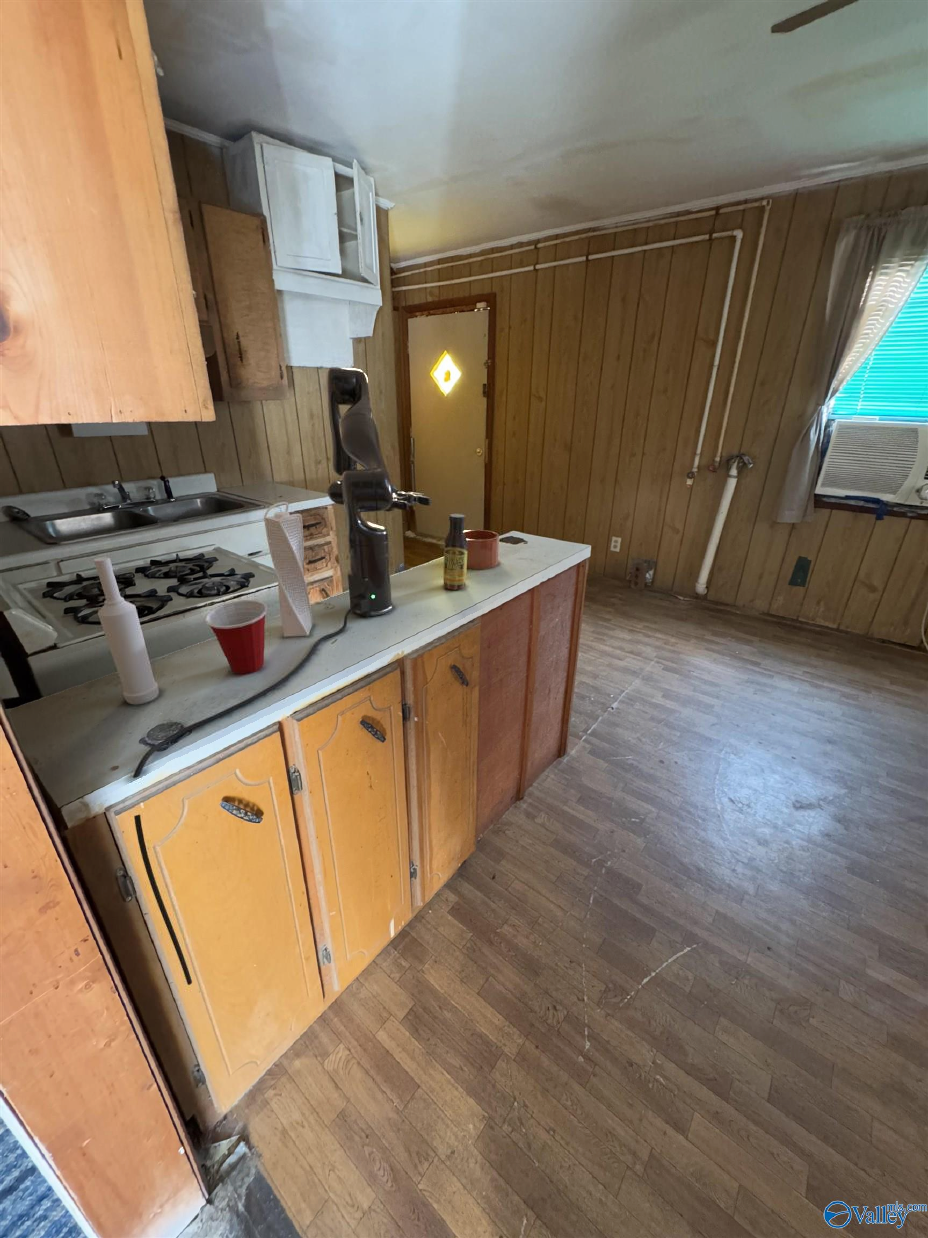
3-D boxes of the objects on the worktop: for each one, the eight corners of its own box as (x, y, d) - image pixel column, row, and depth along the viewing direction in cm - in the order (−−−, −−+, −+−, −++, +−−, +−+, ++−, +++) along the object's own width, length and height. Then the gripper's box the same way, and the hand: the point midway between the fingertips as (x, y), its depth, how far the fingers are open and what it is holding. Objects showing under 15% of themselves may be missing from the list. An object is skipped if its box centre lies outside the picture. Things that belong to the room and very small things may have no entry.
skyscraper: (285, 623, 115) (267, 501, 104) (318, 622, 116) (303, 500, 105) (277, 639, 108) (256, 509, 97) (313, 637, 109) (296, 508, 97)
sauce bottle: (441, 590, 136) (440, 517, 128) (445, 582, 141) (445, 512, 133) (465, 591, 135) (465, 518, 127) (468, 583, 140) (469, 513, 132)
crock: (480, 572, 150) (481, 542, 146) (449, 563, 157) (448, 535, 154) (506, 562, 159) (507, 534, 155) (474, 554, 166) (475, 527, 163)
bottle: (123, 708, 84) (77, 565, 74) (128, 692, 89) (85, 556, 78) (158, 701, 86) (118, 561, 76) (161, 686, 90) (124, 552, 80)
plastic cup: (203, 677, 94) (189, 618, 89) (242, 651, 103) (231, 596, 98) (252, 686, 91) (240, 626, 86) (288, 658, 100) (279, 603, 95)
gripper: (359, 486, 140) (399, 493, 131) (396, 480, 150) (436, 486, 141) (361, 513, 143) (400, 522, 134) (398, 505, 153) (436, 513, 144)
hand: (418, 504), depth 137 cm, fingers open, 8 cm apart
